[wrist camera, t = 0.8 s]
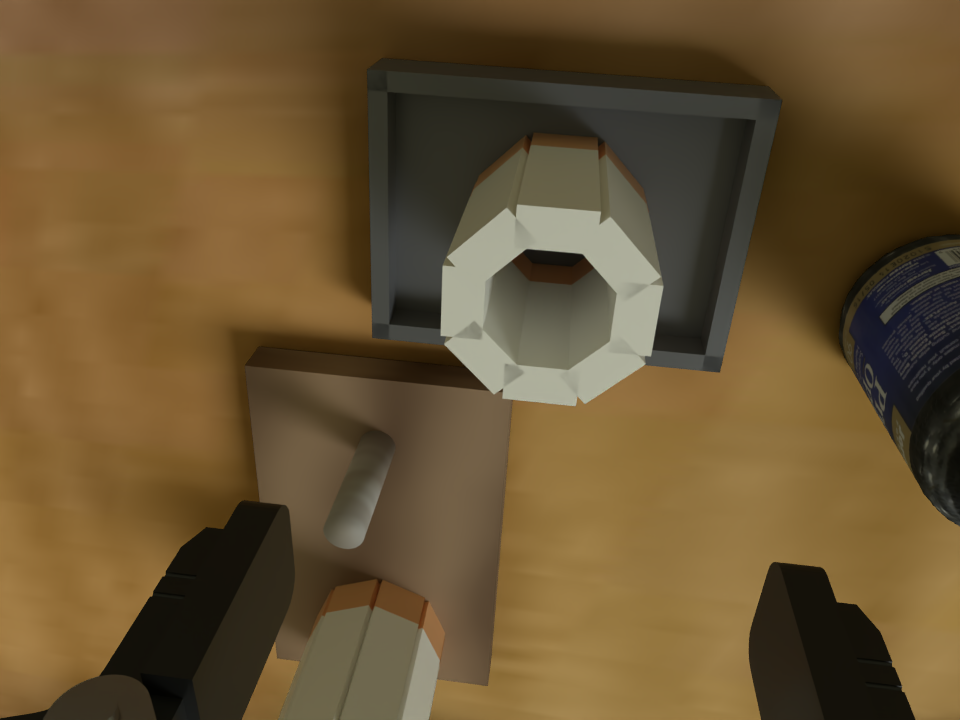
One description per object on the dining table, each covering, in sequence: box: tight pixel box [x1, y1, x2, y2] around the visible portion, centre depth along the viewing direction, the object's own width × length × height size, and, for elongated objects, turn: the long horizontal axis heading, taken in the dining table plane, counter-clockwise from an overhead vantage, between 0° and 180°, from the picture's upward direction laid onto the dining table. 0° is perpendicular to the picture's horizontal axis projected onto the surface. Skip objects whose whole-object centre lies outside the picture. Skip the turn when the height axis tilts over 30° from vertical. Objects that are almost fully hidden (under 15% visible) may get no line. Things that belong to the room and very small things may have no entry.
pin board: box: [245, 347, 512, 686], centre depth 32 cm, size 10×16×6 cm, turn 177°
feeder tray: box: [367, 58, 782, 372], centre depth 26 cm, size 12×9×2 cm
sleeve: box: [441, 133, 663, 406], centre depth 24 cm, size 6×6×7 cm
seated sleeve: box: [278, 579, 445, 720], centre depth 33 cm, size 6×6×7 cm
